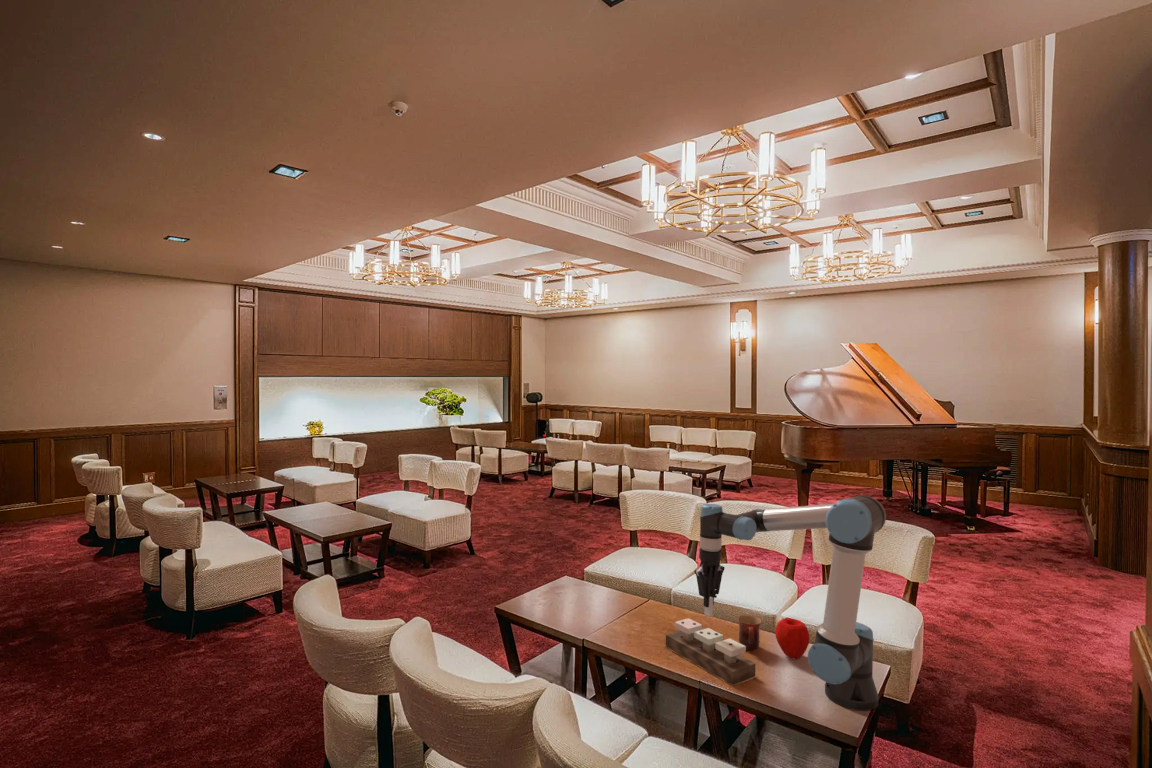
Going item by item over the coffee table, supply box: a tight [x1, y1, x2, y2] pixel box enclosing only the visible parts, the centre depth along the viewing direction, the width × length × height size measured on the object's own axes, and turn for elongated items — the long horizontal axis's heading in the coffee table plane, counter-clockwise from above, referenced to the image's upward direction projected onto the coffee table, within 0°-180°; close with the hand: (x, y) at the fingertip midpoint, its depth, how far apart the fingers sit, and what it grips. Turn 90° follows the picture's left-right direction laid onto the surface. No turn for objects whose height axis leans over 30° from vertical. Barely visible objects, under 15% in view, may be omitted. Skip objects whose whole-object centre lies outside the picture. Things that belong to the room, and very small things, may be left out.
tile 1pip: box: [715, 638, 747, 664], centre depth 191 cm, size 7×7×7 cm
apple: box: [774, 617, 810, 660], centre depth 204 cm, size 12×12×13 cm
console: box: [664, 630, 757, 687], centre depth 199 cm, size 33×12×4 cm, turn 33°
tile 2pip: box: [674, 617, 703, 641], centre depth 207 cm, size 7×7×7 cm
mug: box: [737, 614, 763, 652], centre depth 209 cm, size 12×9×10 cm
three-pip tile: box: [694, 627, 724, 652], centre depth 199 cm, size 7×7×7 cm
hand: (708, 615), depth 199 cm, fingers closed
